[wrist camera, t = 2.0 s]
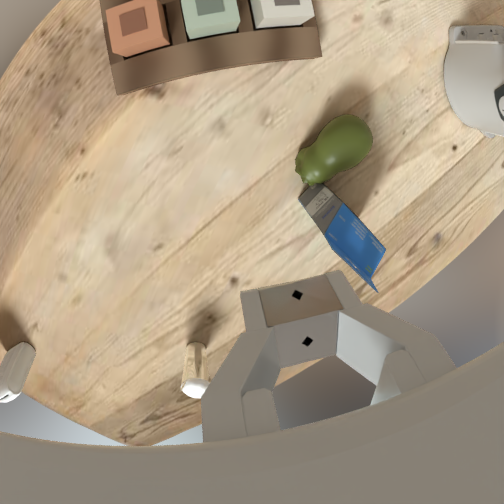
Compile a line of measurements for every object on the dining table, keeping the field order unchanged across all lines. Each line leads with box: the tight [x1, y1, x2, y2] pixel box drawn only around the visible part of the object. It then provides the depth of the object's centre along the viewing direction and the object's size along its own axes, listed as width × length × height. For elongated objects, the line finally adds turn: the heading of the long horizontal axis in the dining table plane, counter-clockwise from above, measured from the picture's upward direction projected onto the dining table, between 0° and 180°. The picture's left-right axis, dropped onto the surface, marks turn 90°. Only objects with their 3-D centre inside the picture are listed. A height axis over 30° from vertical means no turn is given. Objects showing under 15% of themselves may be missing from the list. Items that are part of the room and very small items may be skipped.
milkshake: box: [180, 342, 211, 398], centre depth 43 cm, size 5×5×10 cm
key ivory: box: [250, 0, 315, 28], centre depth 20 cm, size 4×4×5 cm
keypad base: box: [100, 0, 322, 95], centre depth 23 cm, size 21×12×3 cm, turn 99°
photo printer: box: [0, 342, 36, 402], centre depth 39 cm, size 10×4×12 cm, turn 117°
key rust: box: [106, 0, 170, 57], centre depth 20 cm, size 4×4×5 cm
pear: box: [295, 114, 373, 186], centre depth 32 cm, size 6×5×10 cm
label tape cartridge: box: [298, 183, 386, 293], centre depth 33 cm, size 9×4×12 cm, turn 48°
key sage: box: [181, 0, 240, 39], centre depth 20 cm, size 4×4×5 cm
